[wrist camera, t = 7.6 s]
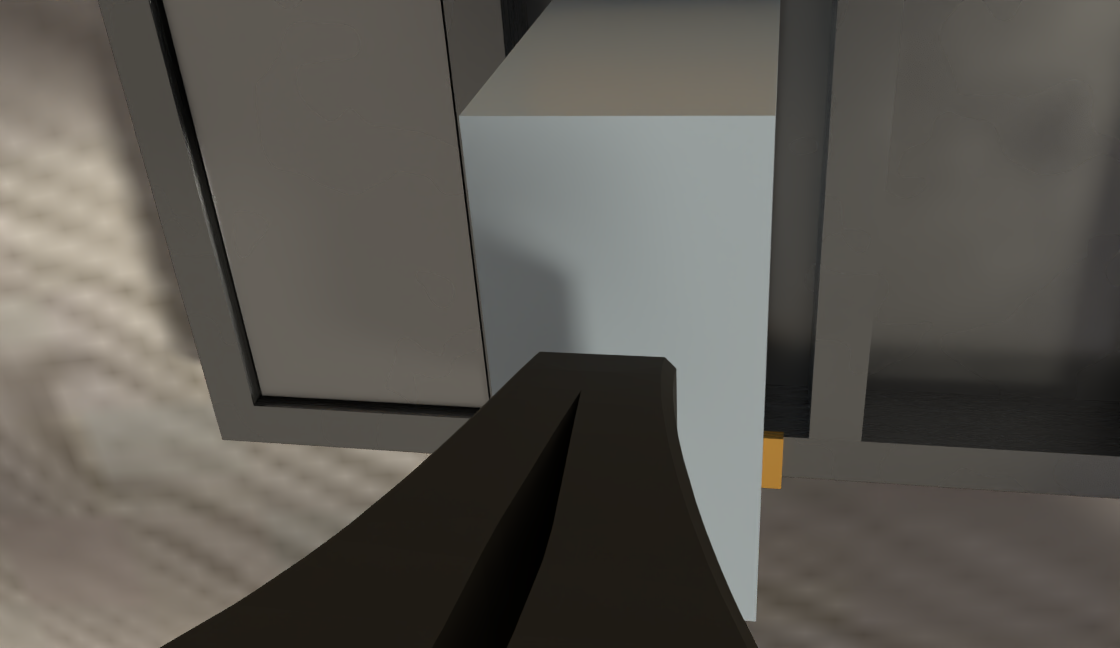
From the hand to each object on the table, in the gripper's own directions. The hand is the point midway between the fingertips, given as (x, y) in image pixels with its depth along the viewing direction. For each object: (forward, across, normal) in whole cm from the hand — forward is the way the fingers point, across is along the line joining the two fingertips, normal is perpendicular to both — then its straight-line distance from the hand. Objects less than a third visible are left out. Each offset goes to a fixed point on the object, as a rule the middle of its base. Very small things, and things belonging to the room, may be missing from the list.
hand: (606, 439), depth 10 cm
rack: (+8, 0, 0) cm, 8 cm away
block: (+7, 0, 0) cm, 7 cm away
